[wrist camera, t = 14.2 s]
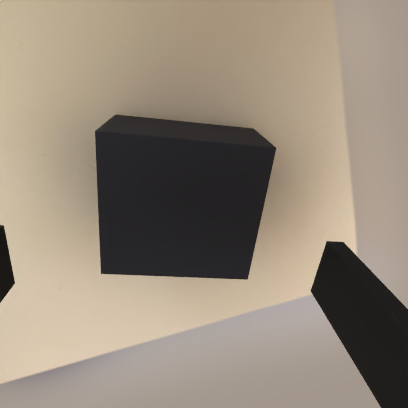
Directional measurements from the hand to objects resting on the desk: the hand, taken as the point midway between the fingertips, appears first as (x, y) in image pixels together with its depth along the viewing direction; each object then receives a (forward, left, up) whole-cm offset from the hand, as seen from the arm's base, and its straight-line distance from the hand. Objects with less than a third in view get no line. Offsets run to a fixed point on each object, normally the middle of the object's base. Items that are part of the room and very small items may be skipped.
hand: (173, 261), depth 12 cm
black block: (0, 0, -9) cm, 9 cm away
